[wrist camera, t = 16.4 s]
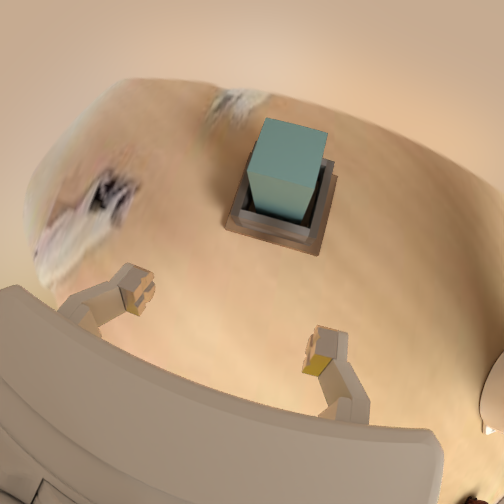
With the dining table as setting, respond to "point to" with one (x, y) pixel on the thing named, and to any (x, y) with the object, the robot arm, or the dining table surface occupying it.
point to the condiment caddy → (280, 231)
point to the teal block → (285, 169)
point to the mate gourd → (475, 501)
